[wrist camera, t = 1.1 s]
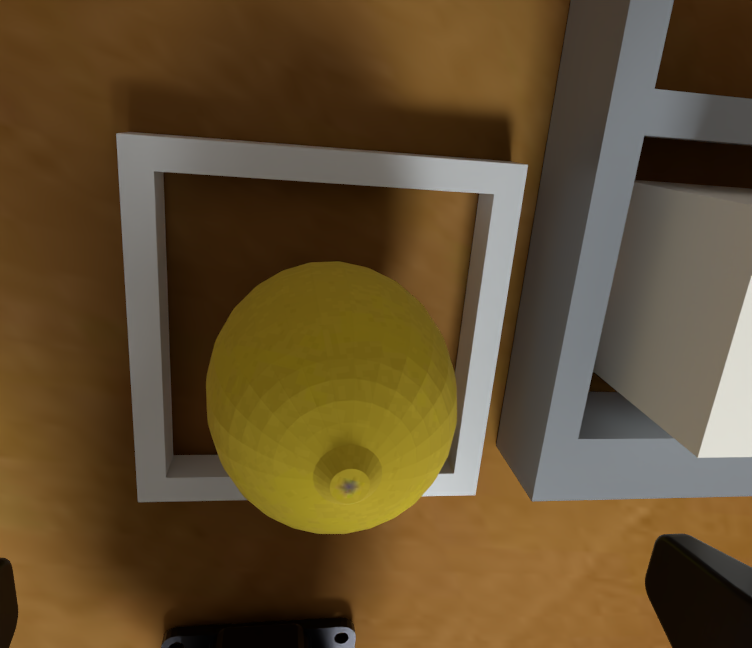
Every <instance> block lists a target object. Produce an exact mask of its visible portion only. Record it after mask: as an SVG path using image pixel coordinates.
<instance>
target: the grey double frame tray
mask: <svg viewBox="0 0 752 648" xmlns="http://www.w3.org/2000/svg"><path fill="white" fill-rule="evenodd" d="M673 2H674V0H571V2H570V8H569V14H568V20H567V26H566V32H565V38H564V44H563V50H562V56H561V62H560V68H559V74H558V80H557V86H556V92H555V98H554V104H553V110H552V116H551V122H550V128H549V133H548V139H547V145H546V151H545V157H544V163H543V169H542V175H541V181H540V187H539V193H538V199H537V205H536V211H535V217H534V223H533V229H532V235H531V241H530V247H529V253H528V259H527V265H526V271H525V276H524V282H523V288H522V294H521V300H520V306H519V312H518V318H517V324H516V330H515V336H514V342H513V348H512V354H511V360H510V366H509V372H508V378H507V384H506V390H505V396H504V402H503V408H502V414H501V419H500V425H499V431H498V437H497V443H496V446H497V448H498V449H499V451H500V453H501V454H502V456H503V457H504V459H505V460H506V462H507V463H508V465H509V467H510V468H511V470H512V471H513V473H514V474H515V476H516V477H517V479H518V481H519V482H520V484H521V485H522V487H523V488H524V490H525V491H526V493H527V495H528V496H529V498H530V499H531V501H564V500H606V499H648V498H690V497H732V496H752V457H720V458H697V457H696V456H695V455H694V454H692V453H691V452H690V451H689V450H688V449H686V448H685V447H684V446H683V445H682V444H680V443H679V442H678V441H677V440H675V439H674V438H673V437H672V436H671V435H669V434H668V433H667V432H666V431H665V430H663V429H662V428H661V427H660V426H659V425H657V424H656V423H655V422H654V421H652V420H651V419H650V418H649V417H648V416H646V415H645V414H644V413H643V412H642V411H640V410H639V409H638V408H637V407H636V406H634V405H633V404H632V403H631V402H630V401H628V400H627V399H626V398H625V397H623V396H622V395H621V394H620V393H619V392H588V391H589V387H590V382H591V378H592V373H593V368H594V364H595V359H596V355H597V350H598V346H599V341H600V336H601V332H602V327H603V323H604V318H605V313H606V309H607V304H608V300H609V295H610V291H611V286H612V281H613V277H614V272H615V268H616V263H617V259H618V254H619V249H620V245H621V240H622V236H623V231H624V226H625V222H626V217H627V213H628V208H629V204H630V199H631V194H632V190H633V185H634V181H635V176H636V172H637V167H638V162H639V158H640V153H641V149H642V144H643V139H644V137H652V138H663V139H674V140H686V141H697V142H708V143H720V144H731V145H742V146H752V99H748V98H738V97H729V96H719V95H709V94H700V93H690V92H680V91H671V90H661V89H655V84H656V80H657V75H658V71H659V66H660V62H661V57H662V52H663V48H664V43H665V39H666V34H667V30H668V25H669V20H670V16H671V11H672V7H673Z"/></svg>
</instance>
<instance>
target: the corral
mask: <svg viewBox="0 0 752 648" xmlns="http://www.w3.org/2000/svg"><path fill="white" fill-rule="evenodd" d="M116 139H117V156H118V173H119V190H120V207H121V224H122V241H123V258H124V275H125V292H126V309H127V326H128V343H129V360H130V377H131V394H132V411H133V428H134V445H135V462H136V479H137V496H138V502H178V501H224V500H247V499H246V498H245V497H244V496H243V495H242V494H241V492H240V491H239V489H238V488H237V487H236V485H235V484H234V482H233V481H232V479H231V478H230V477H229V475H228V474H227V472H226V471H225V469H224V468H223V466H222V464H221V461H220V459H219V456H218V455H173V431H172V402H171V373H170V344H169V316H168V287H167V258H166V229H165V201H164V172H172V173H187V174H202V175H217V176H231V177H246V178H261V179H276V180H291V181H306V182H320V183H335V184H350V185H365V186H380V187H395V188H409V189H424V190H439V191H454V192H469V193H479V199H478V207H477V214H476V222H475V229H474V236H473V244H472V251H471V258H470V266H469V273H468V280H467V288H466V295H465V303H464V310H463V317H462V325H461V332H460V339H459V347H458V354H457V361H456V369H455V377H456V386H457V424H456V428H455V432H454V436H453V440H452V443H451V447H450V451H449V455H448V457H447V459H446V461H445V463H444V465H443V467H442V468H441V470H440V472H439V474H438V476H437V478H436V479H435V481H434V482H433V484H432V485H431V486H430V487H429V488H428V490H427V491H426V492H425V493H424V494H423V495H422V496H457V495H475V494H476V488H477V482H478V475H479V469H480V463H481V457H482V450H483V444H484V438H485V432H486V425H487V419H488V413H489V407H490V400H491V394H492V388H493V381H494V375H495V369H496V363H497V356H498V350H499V344H500V338H501V331H502V325H503V319H504V313H505V306H506V300H507V294H508V288H509V281H510V275H511V269H512V263H513V256H514V250H515V244H516V238H517V231H518V225H519V219H520V212H521V206H522V200H523V194H524V187H525V181H526V175H527V169H528V165H526V164H521V163H516V162H512V161H499V160H486V159H473V158H461V157H448V156H435V155H422V154H409V153H396V152H383V151H370V150H357V149H344V148H332V147H319V146H306V145H293V144H280V143H267V142H254V141H241V140H228V139H215V138H203V137H190V136H177V135H164V134H151V133H138V132H123V133H116Z"/></svg>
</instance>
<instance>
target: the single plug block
mask: <svg viewBox="0 0 752 648" xmlns="http://www.w3.org/2000/svg"><path fill="white" fill-rule="evenodd" d="M593 372H594V373H596V374H597V375H598V376H599V377H600V378H602V379H603V380H604V381H605V382H607V383H608V384H609V385H610V386H611V387H613V388H614V389H615V390H616V391H617V392H619V393H620V394H621V395H622V396H623V397H625V398H626V399H627V400H628V401H630V402H631V403H632V404H633V405H634V406H636V407H637V408H638V409H639V410H640V411H642V412H643V413H644V414H645V415H646V416H648V417H649V418H650V419H651V420H652V421H654V422H655V423H656V424H657V425H659V426H660V427H661V428H662V429H663V430H665V431H666V432H667V433H668V434H669V435H671V436H672V437H673V438H674V439H675V440H677V441H678V442H679V443H680V444H682V445H683V446H684V447H685V448H686V449H688V450H689V451H690V452H691V453H692V454H694V455H695V456H696V457H697V458H720V457H752V189H750V188H737V187H723V186H710V185H697V184H683V183H670V182H657V181H643V180H635V181H634V185H633V190H632V194H631V199H630V204H629V208H628V213H627V217H626V222H625V226H624V231H623V236H622V240H621V245H620V249H619V254H618V259H617V263H616V268H615V272H614V277H613V281H612V286H611V291H610V295H609V300H608V304H607V309H606V313H605V318H604V323H603V327H602V332H601V336H600V341H599V346H598V350H597V355H596V359H595V364H594V368H593Z"/></svg>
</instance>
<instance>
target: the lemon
mask: <svg viewBox="0 0 752 648" xmlns="http://www.w3.org/2000/svg"><path fill="white" fill-rule="evenodd" d="M206 400H207V419H208V426H209V429H210V433H211V436H212V439H213V441H214V444H215V447H216V450H217V453H218V456H219V459H220V461H221V464H222V466H223V468H224V469H225V471H226V472H227V474H228V475H229V477H230V478H231V479H232V481H233V482H234V484H235V485H236V487H237V488H238V489H239V491H240V492H241V494H242V495H243V496H244V497H245V498H246V499H247V500H248V501H250V502H251V503H252V504H253V505H254V506H256V507H257V508H258V509H259V510H260V511H262V512H263V513H264V514H265V515H267V516H269V517H270V518H272V519H274V520H276V521H279V522H281V523H283V524H285V525H287V526H289V527H291V528H294V529H298V530H303V531H307V532H312V533H317V534H347V533H352V532H356V531H361V530H366V529H370V528H373V527H375V526H377V525H380V524H382V523H384V522H386V521H389V520H391V519H393V518H395V517H396V516H398V515H399V514H401V513H402V512H404V511H405V510H406V509H408V508H409V507H411V506H412V505H413V504H415V503H416V502H417V501H418V500H419V498H420V497H421V496H422V495H423V494H424V493H425V492H426V491H427V490H428V488H429V487H430V486H431V485H432V484H433V482H434V481H435V479H436V478H437V476H438V474H439V472H440V470H441V468H442V467H443V465H444V463H445V461H446V459H447V457H448V455H449V451H450V447H451V443H452V440H453V436H454V432H455V428H456V424H457V386H456V377H455V373H454V369H453V366H452V363H451V359H450V356H449V353H448V350H447V346H446V343H445V341H444V338H443V336H442V334H441V332H440V331H439V329H438V328H437V326H436V324H435V323H434V321H433V320H432V318H431V317H430V315H429V314H428V312H427V311H426V309H425V308H424V306H423V305H422V304H421V303H420V302H419V301H418V300H417V299H416V298H414V297H413V296H412V295H411V294H410V293H409V292H408V291H407V290H405V289H404V288H403V287H402V286H401V285H400V284H399V283H397V282H396V281H394V280H392V279H390V278H388V277H386V276H384V275H382V274H380V273H378V272H376V271H374V270H372V269H370V268H367V267H363V266H359V265H354V264H349V263H345V262H340V261H334V262H310V263H306V264H303V265H300V266H296V267H293V268H289V269H286V270H283V271H281V272H279V273H277V274H276V275H274V276H272V277H271V278H269V279H267V280H265V281H264V282H262V283H260V284H259V285H257V286H256V287H255V288H254V289H253V290H252V291H251V292H250V293H249V294H248V295H247V296H246V297H245V298H244V299H243V300H242V301H241V302H240V303H239V304H238V305H237V306H236V307H235V308H234V309H233V311H232V312H231V314H230V316H229V317H228V319H227V321H226V323H225V324H224V326H223V328H222V330H221V331H220V333H219V335H218V337H217V338H216V341H215V344H214V348H213V352H212V356H211V360H210V364H209V368H208V372H207V377H206Z"/></svg>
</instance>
